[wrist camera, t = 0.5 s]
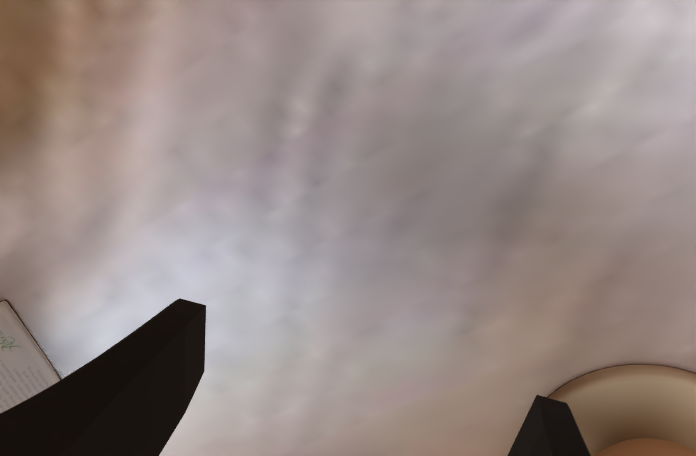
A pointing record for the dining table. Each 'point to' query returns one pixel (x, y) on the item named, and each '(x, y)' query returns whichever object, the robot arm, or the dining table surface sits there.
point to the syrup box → (20, 362)
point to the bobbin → (634, 410)
